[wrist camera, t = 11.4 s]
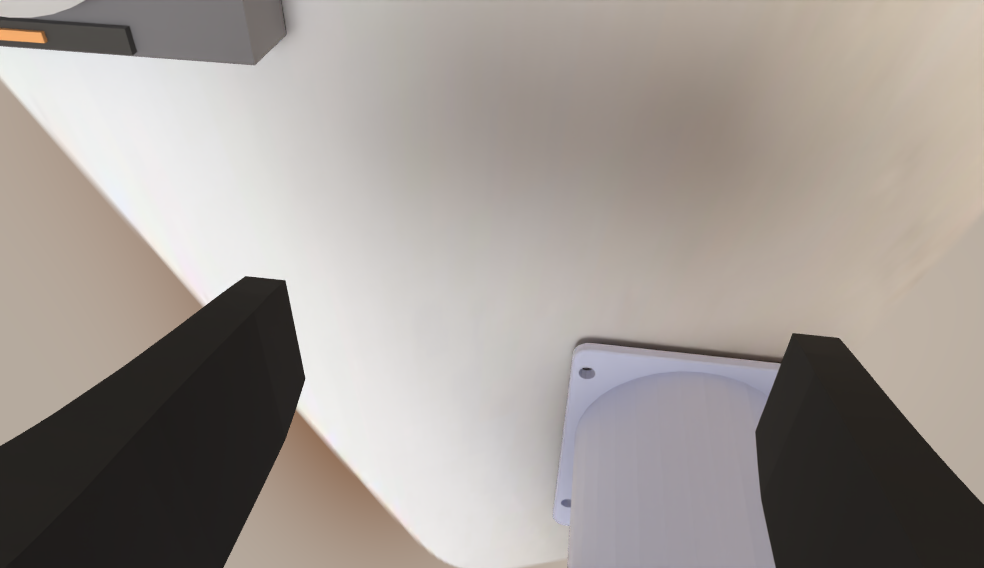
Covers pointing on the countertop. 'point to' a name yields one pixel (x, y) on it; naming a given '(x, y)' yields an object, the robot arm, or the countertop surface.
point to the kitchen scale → (147, 27)
